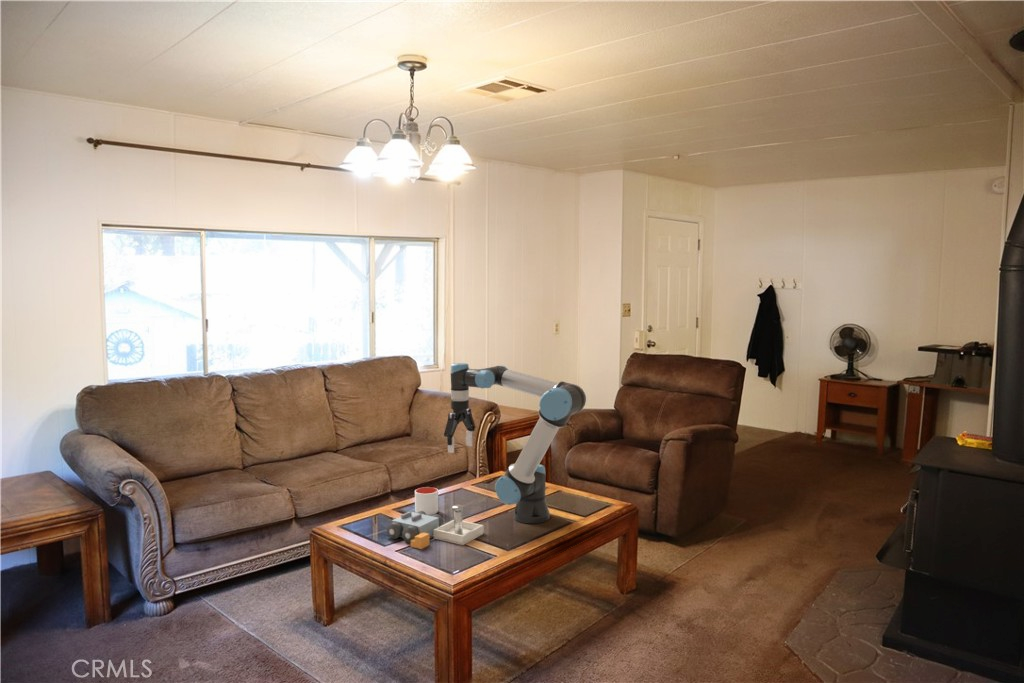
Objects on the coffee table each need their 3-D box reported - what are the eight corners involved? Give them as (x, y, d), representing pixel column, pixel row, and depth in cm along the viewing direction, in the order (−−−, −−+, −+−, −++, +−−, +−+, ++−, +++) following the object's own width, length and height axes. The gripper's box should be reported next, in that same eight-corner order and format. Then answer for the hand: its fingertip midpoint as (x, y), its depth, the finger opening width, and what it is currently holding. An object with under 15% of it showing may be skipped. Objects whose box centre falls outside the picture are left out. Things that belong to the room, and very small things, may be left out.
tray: (483, 533, 268) (483, 525, 268) (462, 545, 256) (462, 536, 256) (455, 527, 275) (454, 519, 275) (433, 538, 263) (433, 529, 263)
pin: (466, 533, 266) (466, 505, 265) (459, 536, 262) (459, 509, 261) (457, 531, 269) (456, 503, 268) (450, 534, 265) (449, 507, 264)
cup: (410, 515, 290) (410, 492, 289) (421, 508, 299) (421, 486, 298) (431, 518, 286) (431, 494, 286) (442, 510, 296) (442, 488, 295)
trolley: (443, 530, 272) (443, 511, 271) (413, 545, 256) (413, 525, 255) (416, 523, 279) (416, 506, 279) (385, 538, 263) (385, 519, 263)
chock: (429, 545, 256) (429, 533, 256) (421, 549, 252) (420, 537, 252) (419, 542, 259) (419, 531, 259) (410, 547, 255) (410, 535, 254)
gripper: (468, 394, 299) (469, 442, 300) (434, 403, 277) (435, 454, 279) (483, 396, 295) (483, 444, 296) (449, 404, 273) (450, 456, 275)
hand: (460, 449), depth 288 cm, fingers open, 13 cm apart
